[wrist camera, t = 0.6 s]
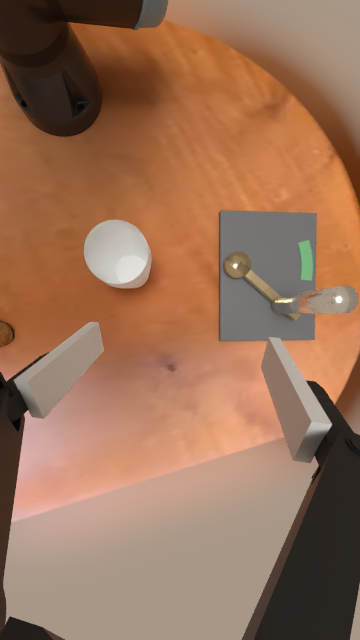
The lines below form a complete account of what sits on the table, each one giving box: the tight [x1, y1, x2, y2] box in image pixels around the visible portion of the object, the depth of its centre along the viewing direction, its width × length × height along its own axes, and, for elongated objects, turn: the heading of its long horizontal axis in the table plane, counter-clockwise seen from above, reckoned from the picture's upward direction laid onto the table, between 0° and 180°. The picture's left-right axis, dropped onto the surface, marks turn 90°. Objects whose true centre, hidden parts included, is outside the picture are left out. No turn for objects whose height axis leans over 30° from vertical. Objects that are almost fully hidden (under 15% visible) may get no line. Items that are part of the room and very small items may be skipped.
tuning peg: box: [224, 251, 358, 321], centre depth 31 cm, size 18×5×14 cm, turn 50°
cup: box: [84, 220, 152, 288], centre depth 32 cm, size 9×9×12 cm
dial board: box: [219, 210, 317, 341], centre depth 39 cm, size 26×20×1 cm
